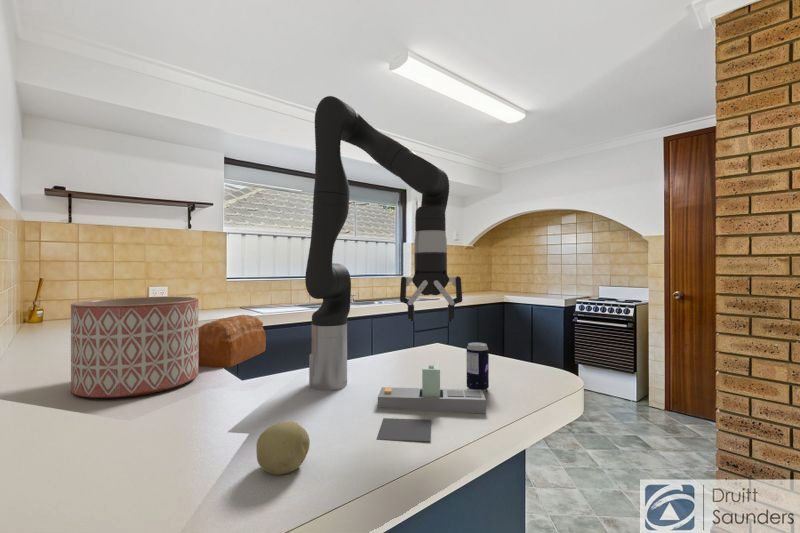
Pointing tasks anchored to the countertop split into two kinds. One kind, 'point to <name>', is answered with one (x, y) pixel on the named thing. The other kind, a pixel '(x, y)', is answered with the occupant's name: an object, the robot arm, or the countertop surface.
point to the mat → (405, 430)
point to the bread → (230, 341)
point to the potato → (282, 447)
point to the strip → (433, 400)
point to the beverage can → (477, 366)
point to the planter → (133, 345)
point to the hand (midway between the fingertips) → (431, 321)
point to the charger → (431, 381)
